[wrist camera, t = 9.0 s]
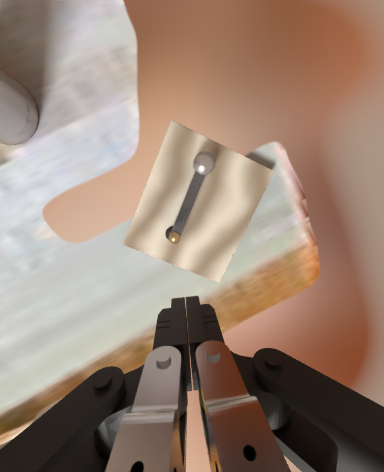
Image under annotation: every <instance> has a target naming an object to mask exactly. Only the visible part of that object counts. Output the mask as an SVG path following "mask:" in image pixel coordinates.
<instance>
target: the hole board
mask: <svg viewBox="0 0 384 472" xmlns="http://www.w3.org/2000/svg"><path fill="white" fill-rule="evenodd" d="M204 151H205V152H209V153H211V154H212V155H213V156H214V158H215V162H216V164H215V168H214V170H213V171H212V172H211V173H209V174H208V175H206V176H205V178H204V180H203V183H202V185H201V188H200V190H199V192H198V195H197V197H196V200H195V202H194V205H193V207H192V210H191V212H190V214H189V217H188V219H187V222H186V224H185V227H184V229H183V232H182V234H181V236H180V241H179V242H178V243H176V244H173V243H171V242H170V241H169V234H170V232H171V230H172V228H173V225H174V223H175V220H176V218H177V215H178V213H179V210H180V208H181V205H182V203H183V200H184V198H185V195H186V193H187V190H188V188H189V185H190V183H191V180H192V178H193V175H194V173H195V171H194V169H193V161H194V159H195V157H196V155H197V154H199V153H200V152H204ZM273 173H274V171H273V170H271V169H269V168H267V167H265V166H263V165H261V164H259V163H257V162H255V161H253V160H251V159H249V158H247V157H245V156H243V155H241V154H239V153H237V152H235V151H233V150H231V149H228V148H226V147H224V146H223V145H221V144H219V143H217V142H215V141H213V140H211V139H209V138H207V137H205V136H203V135H201V134H199V133H197V132H194V131H193V130H191V129H189V128H187V127H185V126H182V125H181V124H178V123H177V122H174V121H173V120H171V123H170V125H169V128H168V131H167V133H166V135H165V138H164V141H163V143H162V146H161V148H160V151H159V153H158V156H157V159H156V161H155V164H154V166H153V169H152V171H151V174H150V177H149V179H148V182H147V184H146V187H145V190H144V192H143V195H142V197H141V200H140V202H139V205H138V207H137V210H136V213H135V215H134V218H133V220H132V223H131V225H130V228H129V230H128V233H127V236H126V238H125V241H124V243H123V245H126V246H128V247H131V248H133V249H136V250H138V251H141V252H143V253H146V254H148V255H151V256H153V257H156V258H158V259H161V260H163V261H166V262H168V263H171V264H173V265H176V266H178V267H181V268H183V269H186V270H188V271H191V272H193V273H196V274H198V275H201V276H203V277H206V278H208V279H211V280H213V281H216V282H218V283H219V282H220V280H221V278H222V276H223V274H224V272H225V270H226V268H227V266H228V264H229V262H230V260H231V258H232V256H233V254H234V252H235V250H236V248H237V246H238V244H239V242H240V240H241V238H242V236H243V234H244V232H245V230H246V228H247V226H248V224H249V222H250V220H251V218H252V216H253V214H254V212H255V210H256V207H257V205H258V203H259V201H260V199H261V197H262V195H263V193H264V191H265V189H266V187H267V185H268V183H269V181H270V179H271V177H272V175H273Z"/></svg>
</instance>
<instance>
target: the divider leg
mask: <svg viewBox="0 0 384 472" xmlns="http://www.w3.org/2000/svg"><path fill="white" fill-rule="evenodd" d="M215 164H216V162H215V158H214V156H213V155H212V154H211V153H209V152H205V151H204V152H200V153H199V154H197V155H196V157H195V159H194V161H193V169H194V171H195V173H194V175H193V178H192V180H191V183H190V185H189V188H188V190H187V193H186V195H185V198H184V200H183V203H182V205H181V208H180V210H179V213H178V215H177V218H176V220H175V223H174V225H173V228H172V230H171V232H170V234H169V241H170V242H171V243H173V244H176V243H178V242H179V241H180V236H181V234H182V232H183V229H184V227H185V224H186V222H187V219H188V217H189V214H190V212H191V210H192V207H193V205H194V202H195V200H196V197H197V195H198V192H199V190H200V188H201V185H202V183H203V180H204V178H205V176H206V175H208V174H209V173H211V172H212V171H213V170H214V168H215Z"/></svg>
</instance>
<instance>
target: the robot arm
mask: <svg viewBox="0 0 384 472" xmlns="http://www.w3.org/2000/svg"><path fill="white" fill-rule="evenodd" d="M37 123H38V111H37V107H36V104H35V102H34V100H33V98H32V96H31V95H30V93H29V92H28V91H27V90H26V89H25V88H24V87H23V86H22V85H21V84H19V83H18V82H16V81H15V80H13V79H12V78H10V77H9V76H7V75H6V74H5V73H3V72H2V71H0V143H3V144H7V145H16V144H21V143H23V142H25V141H27V140H28V139H29V138H30V137H31V136H32V135H33V134H34V132H35V130H36V127H37ZM186 308H187V317H186ZM187 321H188V328H187ZM188 334H189V341H188ZM189 347H190V355H189ZM190 357H191V368H192V378H193V388H194V390H198V391H199V401H200V412H201V418H202V423H203V429H204V435H205V440H206V446H207V452H208V458H209V463H210V469H211V472H291V471H290V469H289V466H288V464H287V462H286V460H285V458H284V456H286V457H287V458H288V459H289V460H290V461H291V462H292V463H293V464H294V465H295V466H296V467H298V468H299V469H300V470H301V471H302V472H384V407H383V406H381V405H379V404H377V403H375V402H374V401H371V400H370V399H368V398H366V397H364V396H362V395H360V394H359V393H357V392H355V391H353V390H351V389H350V388H348V387H346V386H344V385H342V384H340V383H339V382H337V381H335V380H333V379H331V378H329V377H328V376H326V375H323V374H322V373H320V372H318V371H316V370H315V369H313V368H311V367H309V366H307V365H305V364H303V363H302V362H300V361H298V360H296V359H294V358H292V357H291V356H289V355H287V354H285V353H283V352H281V351H279V350H277V349H272V348H264V349H260V350H258V351H257V352H256V353H255V355H254V357H253V358H251V357H245V356H240V355H237V354H235V353H233V352H232V351H230V350H229V348H228V346H227V345H225V343H224V339H223V336H222V333H221V329H220V326H219V323H218V320H217V316H216V313H215V310H214V308H213V307H212V306H211V305H210V304H203V305H200V301H199V296H191V297H186V307H185V297H182V298H173V299H172V302H171V308H167V309H162V311H161V312H160V313H159V315H158V319H157V325H156V332H155V338H154V344H153V351H152V352H151V353H150V354H149V355H148V356H147V358H146V361H145V364H144V365H142V366H141V367H139V368H138V369H135V370H133V371H131V372H128V373H126V374H123V372H122V370H121V369H120V368H118V367H113V366H111V367H105V368H102V369H100V370H98V371H96V372H95V373H94V374H92V375H91V376H90V377H89V378H87V379H86V380H85V381H84V382H82V383H81V384H80V385H79V386H77V387H76V388H75V389H74V390H73V391H71V392H70V393H69V394H68V395H66V396H65V397H64V398H63V399H62V400H60V401H59V402H58V403H57V404H55V405H54V406H53V407H52V408H51V409H50V410H48V411H47V412H46V413H44V414H43V415H42V416H41V417H40V418H38V419H37V420H36V421H35V422H33V423H32V424H31V425H30V426H29V427H27V428H26V429H25V430H24V431H22V432H21V433H20V434H19V435H18V436H16V437H15V438H14V439H13V440H11V441H10V442H9V443H8V444H7V445H5V446H4V447H3V448H2V449H0V472H186V436H187V402H188V401H187V400H188V399H187V391H192V382H191V368H190Z"/></svg>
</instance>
